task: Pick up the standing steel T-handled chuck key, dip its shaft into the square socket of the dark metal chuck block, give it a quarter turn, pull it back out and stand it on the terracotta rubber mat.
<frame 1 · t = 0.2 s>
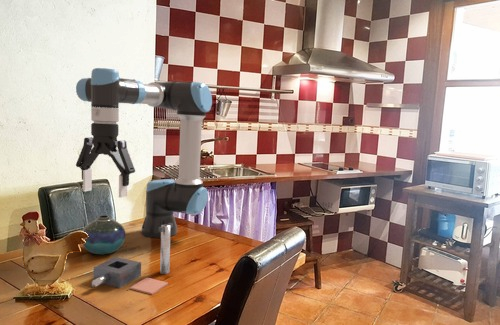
hand: (104, 193, 118), 28 cm above the table, fingers open, 13 cm apart
chuck key: (164, 272, 130), on the table
mat: (149, 286, 119), on the table
vase: (103, 251, 146), on the table
chuck block: (117, 278, 124), on the table
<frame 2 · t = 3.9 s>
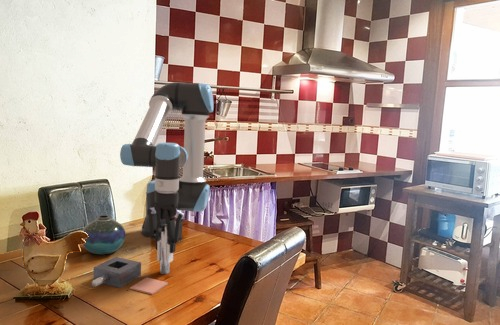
hand: (165, 260, 130), 4 cm above the table, fingers closed on chuck key, 3 cm apart
chuck key: (164, 272, 130), on the table, touching gripper
everything else where it was.
when the fingers open (6 cm above the table, at t = 15.2 s): chuck key drops 1 cm, resting on mat.
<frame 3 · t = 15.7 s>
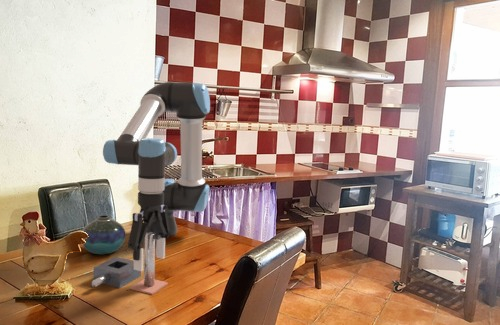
hand: (149, 263, 118), 7 cm above the table, fingers open, 10 cm apart
chuck key: (149, 284, 119), point 1 cm above the table, touching mat
everything else where it was.
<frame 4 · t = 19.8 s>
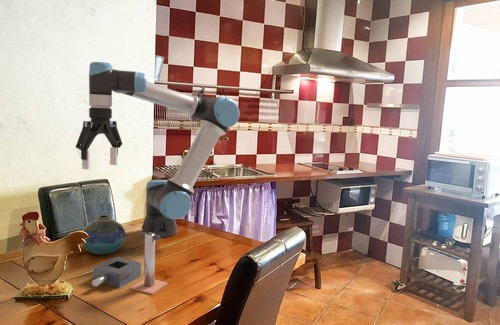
hand: (100, 166, 141), 32 cm above the table, fingers open, 13 cm apart
nothing on the table moved.
at the end: chuck key inside the target area on the mat (0.1 cm from its centre), point 0.5 cm above the mat's base; chuck key tilted 1°; the gripper is holding nothing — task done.
